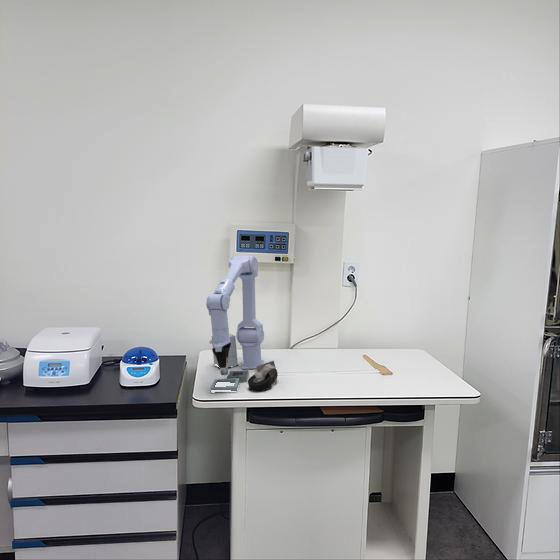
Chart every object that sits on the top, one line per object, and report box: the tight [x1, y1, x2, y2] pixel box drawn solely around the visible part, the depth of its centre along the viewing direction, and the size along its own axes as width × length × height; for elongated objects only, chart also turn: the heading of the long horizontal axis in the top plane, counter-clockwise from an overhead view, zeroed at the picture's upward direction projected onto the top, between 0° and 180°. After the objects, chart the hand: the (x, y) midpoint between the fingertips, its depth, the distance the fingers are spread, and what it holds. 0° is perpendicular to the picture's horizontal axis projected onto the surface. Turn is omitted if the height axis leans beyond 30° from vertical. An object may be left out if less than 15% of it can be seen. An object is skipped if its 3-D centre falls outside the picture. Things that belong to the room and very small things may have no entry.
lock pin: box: [219, 357, 229, 376], centre depth 175 cm, size 3×3×6 cm
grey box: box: [211, 333, 239, 368], centre depth 200 cm, size 7×7×13 cm
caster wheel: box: [247, 360, 279, 393], centre depth 175 cm, size 7×11×10 cm
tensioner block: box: [226, 369, 250, 383], centre depth 184 cm, size 7×7×2 cm
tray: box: [209, 378, 241, 392], centre depth 176 cm, size 9×9×2 cm
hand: (223, 365), depth 175 cm, fingers closed on lock pin, 3 cm apart
